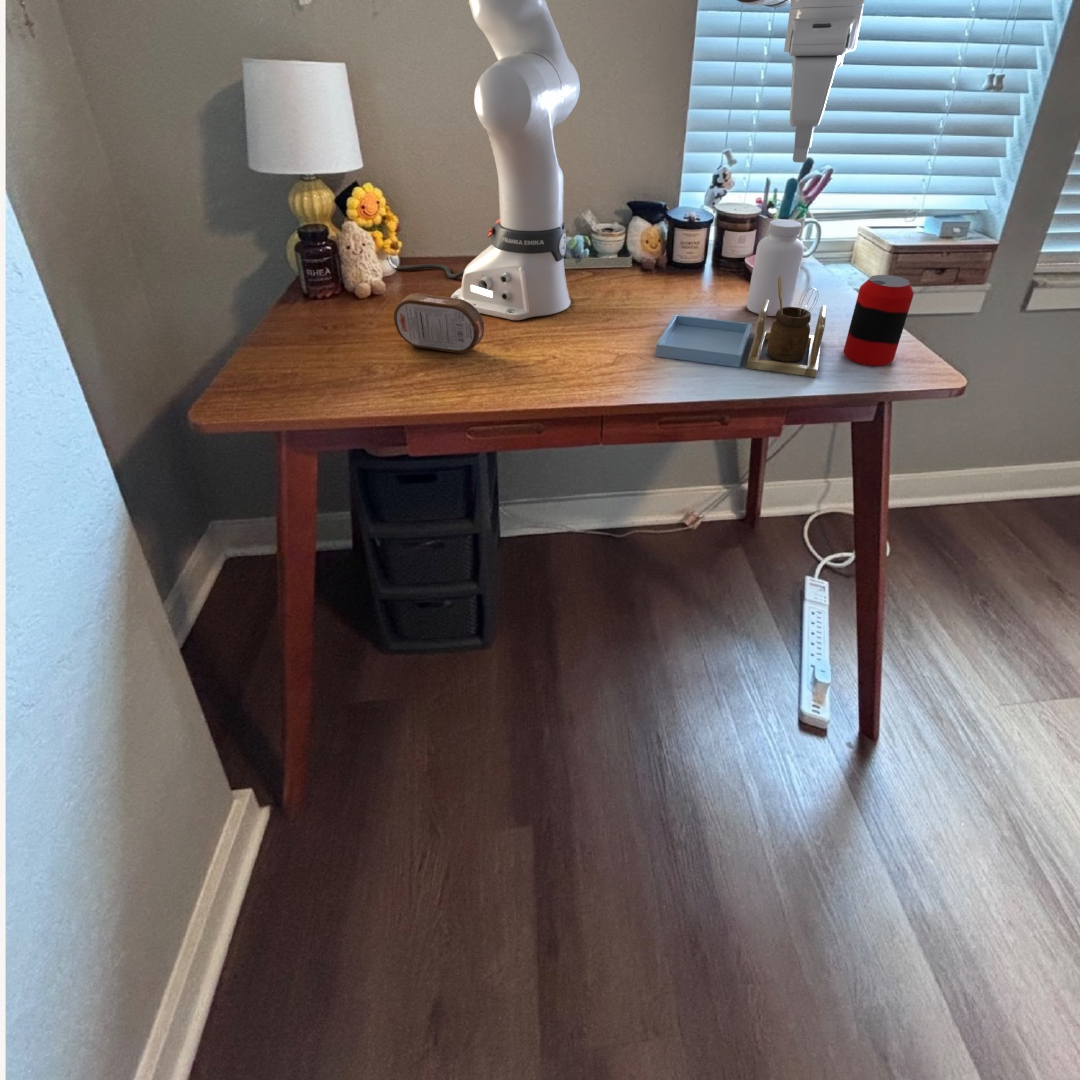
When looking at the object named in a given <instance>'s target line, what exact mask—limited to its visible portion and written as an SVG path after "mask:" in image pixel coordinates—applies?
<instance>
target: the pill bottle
mask: <svg viewBox="0 0 1080 1080" xmlns="http://www.w3.org/2000/svg"><path fill="white" fill-rule="evenodd" d="M768 224H769V225H768V228H767V232H766V234H767V236H765V237H763V238H761V239H760V240H759V242H758V243H757V246H756V251H755V256H754V261H753V267H752V272H751V278H750V283H749V287H748V295H747V299H746V308H747V310H748V311H749V312H751V313H754V314H756V315H759V314H760V311H761V308H762V305H763V302H764V300H765V299H768V300H769V306H768V312H767V317H775V316H776V313H777V311H778V310H779V309H780V299H779V296H778V278H779V276H780V275H781V284H782V308H783V307H793V302H794V298H795V293H796V288H797V285H798V279H799V276H800V270H801V266H802V261H803V258H804V252H805V245H804V243H803V241H802V240H800V239H799V238H800V234H801V229H802V223H801V222H799V221H796V220H794V219H787V218H786V219H785V218H779V219H771V221H769V223H768Z"/></svg>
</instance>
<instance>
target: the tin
mask: <svg viewBox="0 0 1080 1080" xmlns="http://www.w3.org/2000/svg"><path fill="white" fill-rule="evenodd" d="M393 320H394V321H393V322H394V325H395V329H396V331H397V333H398V335H399V336H400V337H401V338H402V339H403V340H404V342H406V343H407V344H408V345H411V346H412V347H415V348H419V349H426V350H432V351H433V350H434V351H441V352H448V353H454V354H465V353H468V352H470V351H471V350H473V349H474V348H475V347H476V346H477V345H478V344H479V343H480V342H481V341H482V339H483V337H484V333H485V324H484V320H483V317H482V315H481V313H479V312H478V310H477V309H476V308H475V307H474V306H473V305H472V304H470V303H469V302H467V301H465V300H462V299H457V298H451V297H450V296H439V295H433V294H425V293H419V292H418V293H417V292H416V293H410V294H408V295H406V296H405V297H404V298H402V300H401V301H400V302H399V303H398V304H397V305H396V307H395V309H394V312H393Z"/></svg>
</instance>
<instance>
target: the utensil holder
mask: <svg viewBox="0 0 1080 1080" xmlns="http://www.w3.org/2000/svg"><path fill="white" fill-rule="evenodd" d="M810 290H812V291H811V293H810V295H809V298H808V300H807V302H806V304H805V307H804V308H802V306H803V305H802V304H801V303H803V301H804V300H805V297H806V294H807V293H808V292H809V291H810ZM814 290H815V292H816V294H817V295H815V297H814V300H813V304H812V305H811V306H810V308H809V310H808V309H806V308H807V305H808V304H809V301H810V299H811V297H812V294H813V292H814ZM778 296H779V299H780V309H779V310H778V311H777V313H776V316H774V317H775V320H774V321H773V323H772V325H771V327H770V330H771V331H770V335H769V340H767V341H768V342H767V346H766V348H767V349H766V353H767V354H766V355H768V357H769V358H770V359H773V360H776V361H778V362H783V363H794V362H798V361H801V360H803V358H804V357H805V355H806V351H807V348H808V344H807V343H808V339H809V335H811V326H810V322H811V321H812V311H813V309H814V308H815V307H816V304H817V303H815V301H818V300H819V296H820V293H819V291H818V289H817V288H815V287H809V288H807V289H805V290H804V291H803V293H802V296H801V297H800V300H799V302H798V305H799V306H797V307H796V306H792V307H783V308H782V284H781V275H780V276H779V278H778ZM801 299H802V300H801ZM814 303H815V304H814ZM813 305H814V306H813Z"/></svg>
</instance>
